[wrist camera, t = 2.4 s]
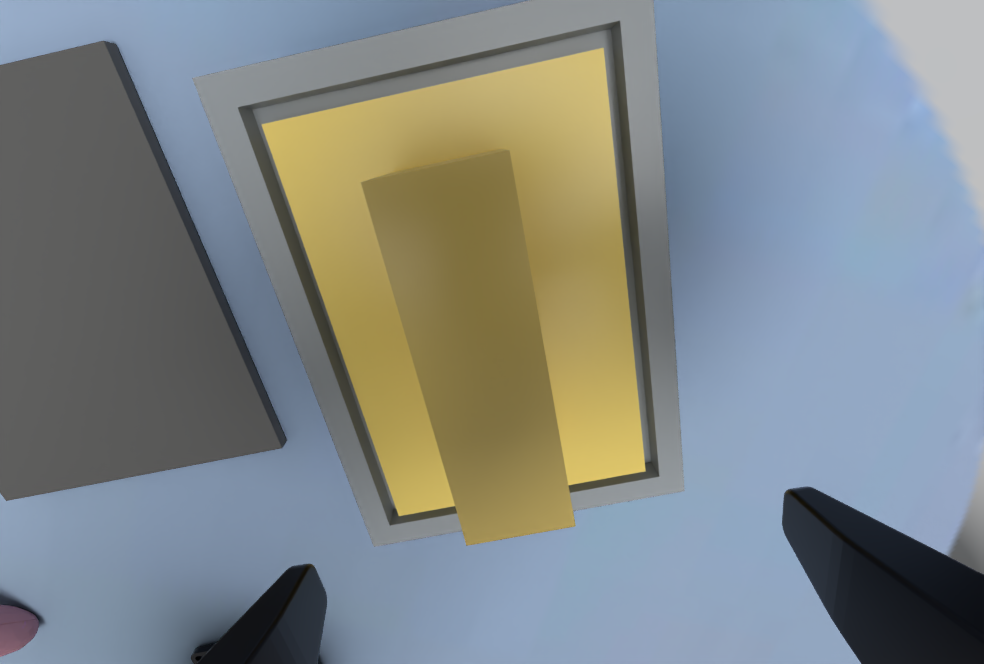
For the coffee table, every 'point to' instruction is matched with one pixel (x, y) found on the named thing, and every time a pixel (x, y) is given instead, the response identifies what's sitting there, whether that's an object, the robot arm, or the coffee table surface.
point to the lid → (477, 286)
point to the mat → (107, 293)
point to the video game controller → (16, 628)
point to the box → (428, 62)
